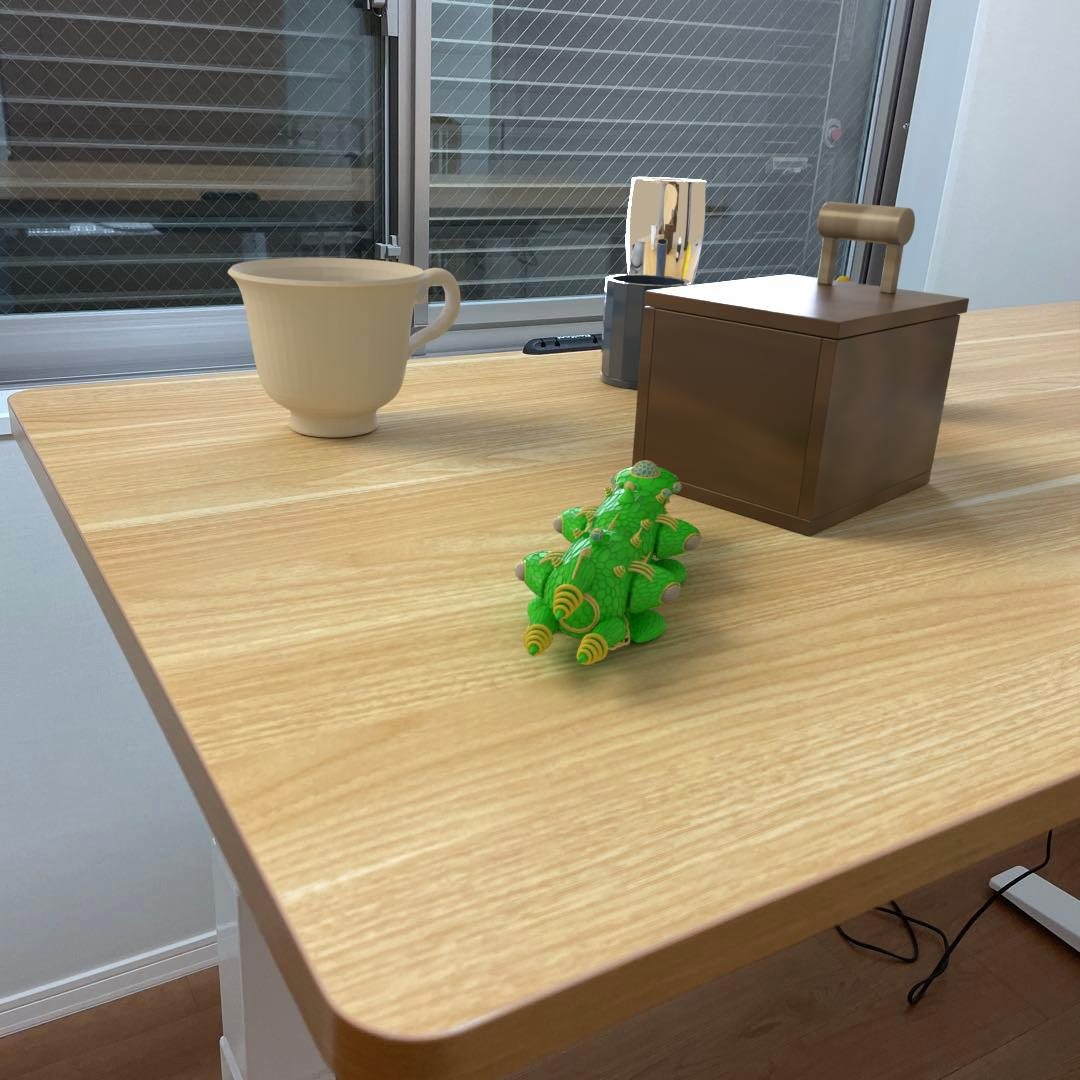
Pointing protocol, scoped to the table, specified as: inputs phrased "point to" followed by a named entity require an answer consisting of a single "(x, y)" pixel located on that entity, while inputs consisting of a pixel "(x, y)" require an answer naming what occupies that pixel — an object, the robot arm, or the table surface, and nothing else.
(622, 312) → the cup
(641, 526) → the green creature figurine
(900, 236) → the lid
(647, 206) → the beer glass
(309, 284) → the teacup
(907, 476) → the chest
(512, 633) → the table surface
